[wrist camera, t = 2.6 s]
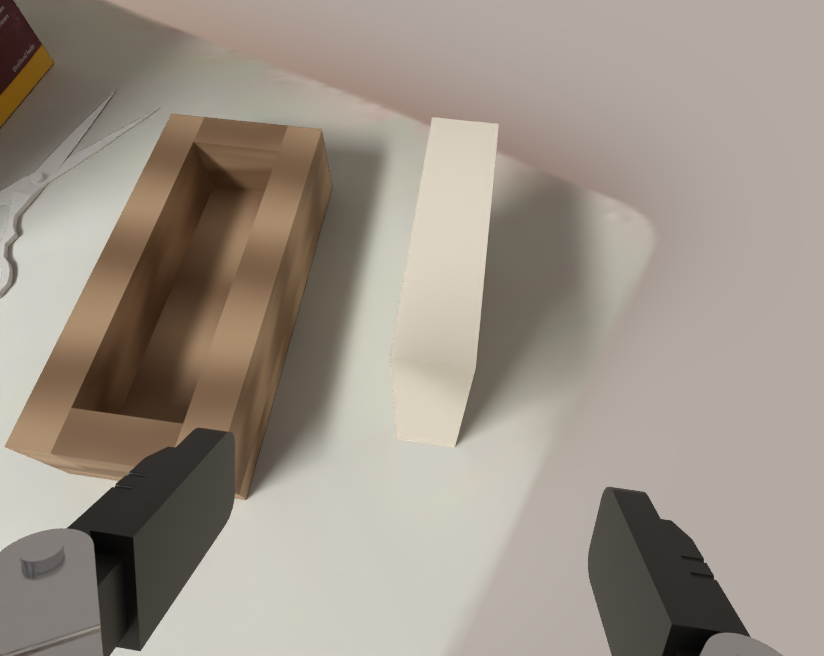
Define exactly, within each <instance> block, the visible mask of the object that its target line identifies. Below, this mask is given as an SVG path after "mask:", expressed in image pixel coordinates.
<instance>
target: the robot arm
mask: <svg viewBox="0 0 824 656" xmlns="http://www.w3.org/2000/svg"><path fill="white" fill-rule="evenodd" d="M234 497H235V438H234V435H233V433H232V432H227V431H220V430H213V429H206V428H195V429H194V430H193V431H192V432H191V433H190V434H189V435H188V436H187V437H186V438H185V439H184V440H183V441H182V442H181V443H180V444H179V445H177V446H176V447H169V446H168V447H166V448H164V449H162V450H160V451H157V452H155V453H153V454H151V455H149V456H147V457H145V458H144V459H143V460H142V461H141V462H140V463H138V464H137V465H136V466H135V467H134V468H133V469H132V470H131V471H130V472H129V475H125V476H124V477H123V478H122V479H121V480H120V481H119V482H118V483H116V486H115V488H114V487H112V488H111V489H110V490H109V491H108V492H107V493H105V494H104V495H103V496H102V497H101V498H100V499H99V500H98V501H97V502H95V503H94V504H93V505H92V506H91V507H90V508H89V509H88V510H87V511H86V512H84V513H83V514H82V515H81V516H80V517H79V518H78V519H77V520H76V521H75V522H73V523H72V524H71V525H70V526H69V527H68V528H67V529H51V530H46V531H41V532H38V533H34V534H31V535H29V536H26V537H24V538H22V539H19V540H17V541H16V542H14V543H12V544H10V545H9V546H7V547H6V548H4V549H3V550H2V551H1V552H0V656H110V654H111V653H112V652H113V650H114V649H115V647H120V648H125V649H131V650H137V651H141V649H142V648H143V646H144V645H145V643H146V642H147V641H148V639H149V638H150V636H151V635H152V633H153V632H154V630H155V629H156V627H157V626H158V624H159V623H160V621H161V620H162V618H163V617H164V615H165V614H166V612H167V611H168V609H169V608H170V606H171V605H172V603H173V602H174V600H175V599H176V597H177V596H178V594H179V593H180V591H181V590H182V588H183V587H184V586H185V584H186V583H187V581H188V580H189V578H190V577H191V575H192V574H193V572H194V571H195V569H196V568H197V566H198V565H199V563H200V562H201V560H202V559H203V557H204V556H205V554H206V553H207V551H208V550H209V548H210V547H211V545H212V544H213V542H214V541H215V539H216V538H217V536H218V535H219V533H220V532H221V531H222V529H223V528H224V526H225V525H226V523H227V521H228V519H229V517H230V514H231V511H232V508H233V504H234ZM588 572H589V578H590V583H591V586H592V590H593V593H594V596H595V600H596V603H597V607H598V610H599V613H600V617H601V620H602V624H603V627H604V630H605V634H606V637H607V640H608V644H609V647H610V651H611V654H612V656H783V655H781V654H780V653H778V652H777V651H776V650H774V649H773V648H771V647H769V646H768V645H766V644H764V643H762V642H760V641H758V640H756V639H753V638H751V637H750V635H749V633H748V632H747V630H746V629H745V627H744V625H743V623H742V622H741V620H740V618H739V617H738V615H737V613H736V612H735V610H734V608H733V607H732V605H731V603H730V602H729V600H728V598H727V597H726V595H725V593H724V592H723V590H722V588H721V587H720V585H719V583H718V582H717V580H714V575H713V573H712V572H711V570H710V568H709V567H708V565H707V563H704V558H703V557H702V555H701V553H700V552H699V550H698V549H697V547H696V545H695V544H694V542H693V540H692V539H691V538H690V537H689V536H688V535H687V534H686V533H684V532H683V531H682V530H681V529H680V528H679V527H678V526H676V524H674V523H673V522H672V521H670V520H663V519H660V517H659V515H658V513H657V511H656V510H655V508H654V506H653V504H652V502H651V501H650V499H649V497H648V495H647V494H646V493H645V492H640V491H634V490H627V489H620V488H613V487H607V488H606V489H605V490H604V492H603V494H602V498H601V502H600V507H599V511H598V515H597V519H596V523H595V527H594V531H593V535H592V539H591V544H590V548H589V555H588Z"/></svg>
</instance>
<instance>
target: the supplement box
mask: <svg viewBox="0 0 824 656" xmlns="http://www.w3.org/2000/svg"><path fill="white" fill-rule="evenodd" d="M53 64H54V62H53V60H52V59H51V57H50V56H49V54H48V53H47V51H46V49H45V48H44V46H43V45H42V43H41V42H40V41H39V39H38V38H37V36H36V34H35V33H34V31H33V30H32V28H31V27H30V25H29V24H28V22H27V21H26V19H25V18H24V16H23V14H22V13H21V11H20V10H19V8H18V7H17V5H16V4H15V2H14V1H13V0H0V127H1V126H2V125H3V124H4V122H5V121H6V120H7V119H8V118H9V116H10V115H11V114H12V113H13V112H14V110H15V109H16V108H17V107H18V106H19V104H20V103H21V102H22V101H23V100H24V98H25V97H26V96H27V95H28V94H29V92H30V91H31V90H32V89H33V88H34V86H35V85H36V84H37V83H38V82H39V80H40V79H41V78H42V77H43V75H44V74H45V73H46V72H47V71H48V70H49V68H50V67H51V66H52V65H53Z"/></svg>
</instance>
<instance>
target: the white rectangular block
mask: <svg viewBox="0 0 824 656" xmlns="http://www.w3.org/2000/svg"><path fill="white" fill-rule="evenodd" d="M498 126H499V124H494V123H484V122H473V121H463V120H454V119H444V118H433V117H432V121H431V126H430V132H429V137H428V143H427V149H426V154H425V160H424V166H423V171H422V177H421V182H420V188H419V194H418V199H417V205H416V211H415V216H414V222H413V228H412V233H411V239H410V245H409V250H408V256H407V261H406V267H405V273H404V278H403V284H402V290H401V295H400V301H399V307H398V312H397V318H396V324H395V329H394V335H393V340H392V346H391V352H390V369H391V380H392V392H393V404H394V416H395V428H396V439H400V440H407V441H414V442H421V443H428V444H436V445H443V446H450V447H455V445H456V441H457V437H458V434H459V430H460V426H461V422H462V418H463V415H464V411H465V407H466V403H467V400H468V396H469V392H470V388H471V384H472V381H473V377H474V373H475V369H476V360H477V349H478V339H479V328H480V318H481V307H482V296H483V286H484V275H485V264H486V254H487V243H488V232H489V222H490V211H491V200H492V190H493V179H494V169H495V158H496V146H497V136H498Z"/></svg>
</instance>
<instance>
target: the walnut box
mask: <svg viewBox="0 0 824 656" xmlns="http://www.w3.org/2000/svg"><path fill="white" fill-rule="evenodd" d="M331 191H332V183H331V177H330V172H329V166H328V161H327V155H326V150H325V144H324V139H323V133H322V129H313V128H303V127H294V126H284V125H275V124H265V123H255V122H246V121H236V120H227V119H217V118H207V117H198V116H188V115H179V114H171V116H170V118H169V120H168V122H167V124H166V126H165V128H164V130H163V132H162V134H161V136H160V138H159V140H158V142H157V144H156V146H155V148H154V150H153V152H152V154H151V156H150V158H149V160H148V162H147V164H146V166H145V168H144V170H143V172H142V174H141V176H140V178H139V180H138V182H137V184H136V186H135V188H134V190H133V192H132V194H131V196H130V198H129V200H128V202H127V204H126V206H125V208H124V210H123V212H122V214H121V216H120V217H119V219H118V221H117V223H116V225H115V227H114V229H113V231H112V233H111V235H110V237H109V239H108V241H107V243H106V245H105V247H104V249H103V251H102V253H101V255H100V257H99V259H98V261H97V263H96V265H95V267H94V269H93V271H92V273H91V275H90V277H89V279H88V281H87V283H86V285H85V287H84V289H83V291H82V293H81V295H80V297H79V299H78V301H77V303H76V305H75V307H74V309H73V311H72V313H71V315H70V317H69V319H68V321H67V323H66V325H65V327H64V329H63V331H62V333H61V335H60V337H59V339H58V341H57V343H56V345H55V347H54V349H53V351H52V353H51V355H50V357H49V359H48V361H47V363H46V365H45V367H44V369H43V371H42V373H41V375H40V377H39V379H38V381H37V383H36V385H35V387H34V389H33V391H32V393H31V395H30V397H29V399H28V401H27V403H26V405H25V407H24V409H23V411H22V413H21V415H20V417H19V419H18V421H17V423H16V425H15V427H14V429H13V431H12V433H11V435H10V437H9V439H8V441H7V443H6V445H5V447H6V448H9V449H11V450H13V451H16V452H18V453H21V454H23V455H26V456H28V457H30V458H33V459H35V460H38V461H40V462H43V463H45V464H48V465H50V466H52V467H55V468H57V469H60V470H62V471H65V472H67V473H70V474H77V475H84V476H90V477H97V478H104V479H110V480H117V481H120V480H121V479H122V478H123V477H124V476H125V475H129V472H130V471H131V470H132V469H133V468H134V467H135V466H136V465H137V464H138V463H140V462H141V461H142V460H143V459H144V458H145V457H147V456H149V455H151V454H153V453H155V452H157V451H160V450H162V449H164V448H166V447H168V446H169V447H176V446H177V445H179V444H180V443H181V442H182V441H183V440H184V439H185V438H186V437H187V436H188V435H189V434H190V433H191V432H192V431H193V430H194V429H195V428H206V429H213V430H220V431H227V432H232V433H233V435H234V438H235V497H234V498H237V499H244V500H246V498H247V495H248V491H249V487H250V484H251V480H252V477H253V473H254V469H255V466H256V462H257V459H258V455H259V451H260V448H261V444H262V440H263V437H264V433H265V430H266V426H267V422H268V419H269V415H270V412H271V408H272V404H273V401H274V397H275V393H276V390H277V386H278V383H279V379H280V375H281V372H282V368H283V364H284V361H285V357H286V354H287V350H288V346H289V343H290V339H291V336H292V332H293V328H294V325H295V321H296V317H297V314H298V310H299V307H300V303H301V299H302V296H303V292H304V289H305V285H306V281H307V278H308V274H309V270H310V267H311V263H312V260H313V256H314V252H315V249H316V245H317V241H318V238H319V234H320V231H321V227H322V223H323V220H324V216H325V213H326V209H327V205H328V202H329V198H330V194H331Z"/></svg>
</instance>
